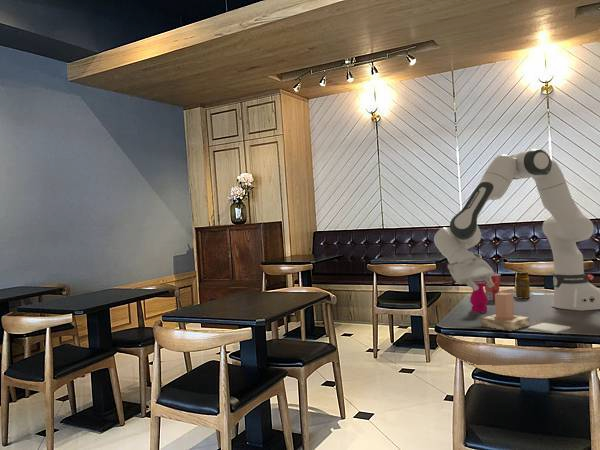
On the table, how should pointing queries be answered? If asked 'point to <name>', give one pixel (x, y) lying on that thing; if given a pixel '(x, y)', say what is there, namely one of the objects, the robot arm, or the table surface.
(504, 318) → the terracotta block
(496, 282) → the cup
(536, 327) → the felt pad
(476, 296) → the pepper mill
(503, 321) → the pocket board
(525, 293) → the condiment
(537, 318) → the table surface
